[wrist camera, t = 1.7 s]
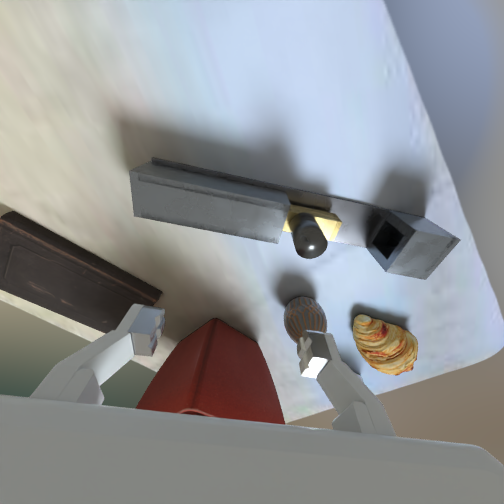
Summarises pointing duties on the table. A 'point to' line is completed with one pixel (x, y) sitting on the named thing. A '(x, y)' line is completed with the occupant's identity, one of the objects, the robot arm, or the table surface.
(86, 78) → the table surface
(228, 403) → the plant pot
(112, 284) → the hardcover book
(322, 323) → the vase
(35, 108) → the table surface
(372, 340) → the croissant
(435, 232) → the guide
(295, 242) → the sliding bolt
